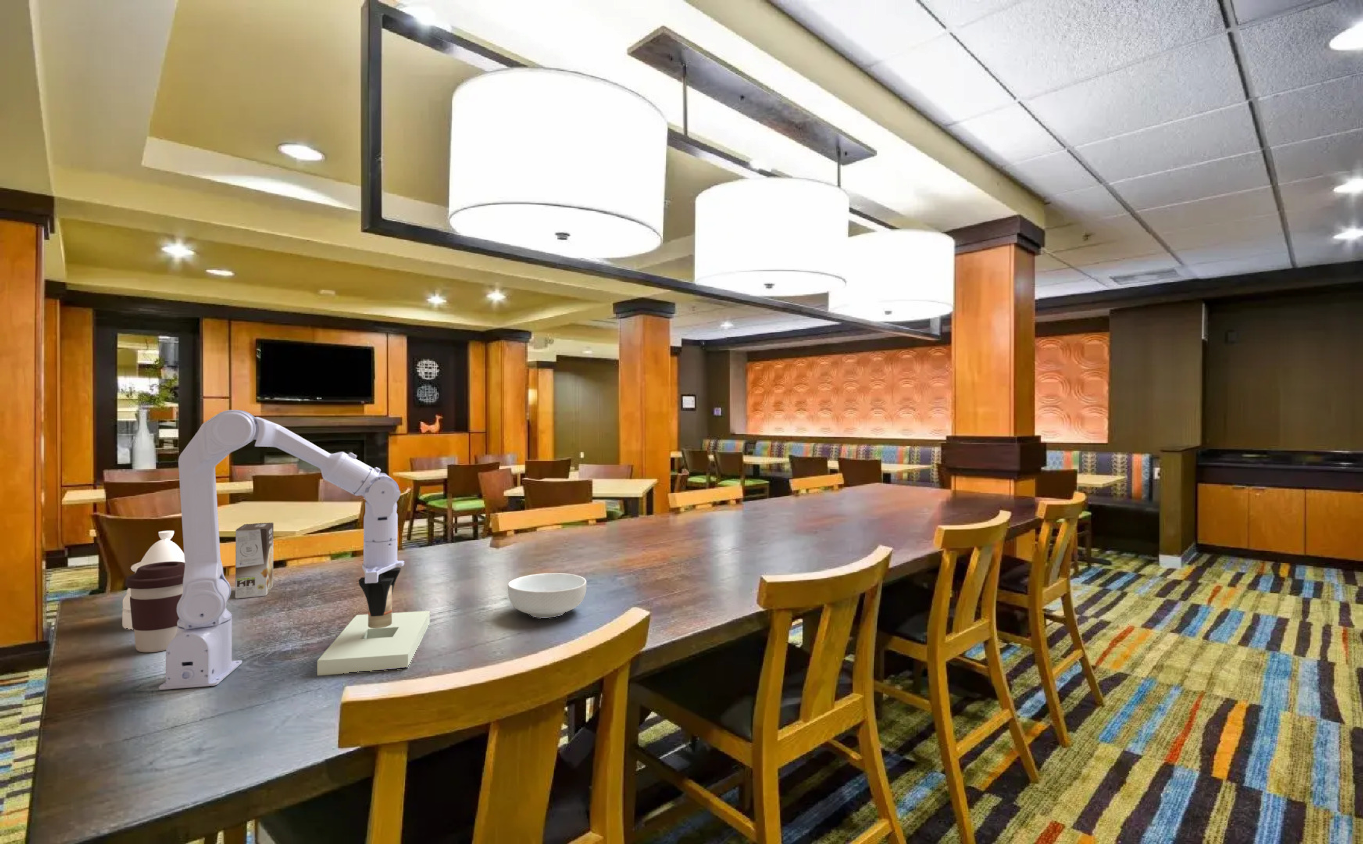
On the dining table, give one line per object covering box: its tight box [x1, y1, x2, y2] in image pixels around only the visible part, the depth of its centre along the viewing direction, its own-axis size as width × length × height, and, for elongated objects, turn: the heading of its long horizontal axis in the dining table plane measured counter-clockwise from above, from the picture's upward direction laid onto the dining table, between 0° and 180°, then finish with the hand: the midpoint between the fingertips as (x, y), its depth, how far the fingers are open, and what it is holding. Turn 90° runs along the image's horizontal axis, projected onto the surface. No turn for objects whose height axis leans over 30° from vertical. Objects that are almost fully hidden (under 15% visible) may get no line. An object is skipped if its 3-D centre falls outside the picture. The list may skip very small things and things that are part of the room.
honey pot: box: [121, 530, 185, 631], centre depth 131 cm, size 13×13×18 cm
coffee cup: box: [125, 561, 185, 653], centre depth 116 cm, size 10×10×15 cm
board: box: [316, 610, 431, 676], centre depth 118 cm, size 24×14×2 cm, turn 13°
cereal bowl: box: [507, 572, 588, 617], centre depth 138 cm, size 17×17×7 cm
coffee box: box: [234, 522, 274, 599], centre depth 151 cm, size 9×6×16 cm
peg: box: [367, 586, 393, 628], centre depth 117 cm, size 4×4×7 cm
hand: (380, 611), depth 117 cm, fingers closed on peg, 4 cm apart
